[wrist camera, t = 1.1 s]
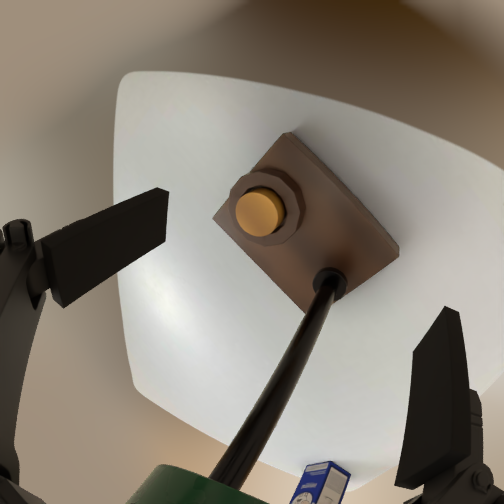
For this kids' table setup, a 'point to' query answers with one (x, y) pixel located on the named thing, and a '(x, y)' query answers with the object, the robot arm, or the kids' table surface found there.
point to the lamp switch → (260, 212)
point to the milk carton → (321, 484)
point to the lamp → (249, 418)
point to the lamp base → (308, 224)
